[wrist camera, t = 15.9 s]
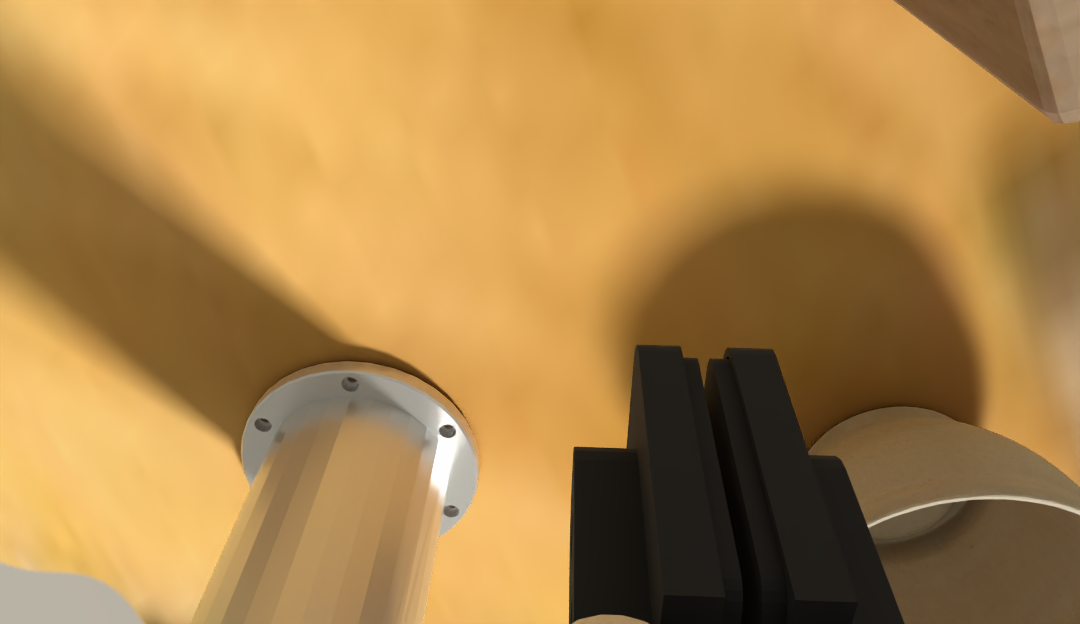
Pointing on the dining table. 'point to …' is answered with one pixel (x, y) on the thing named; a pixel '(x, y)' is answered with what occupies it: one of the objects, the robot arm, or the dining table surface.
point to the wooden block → (1016, 45)
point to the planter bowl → (962, 518)
